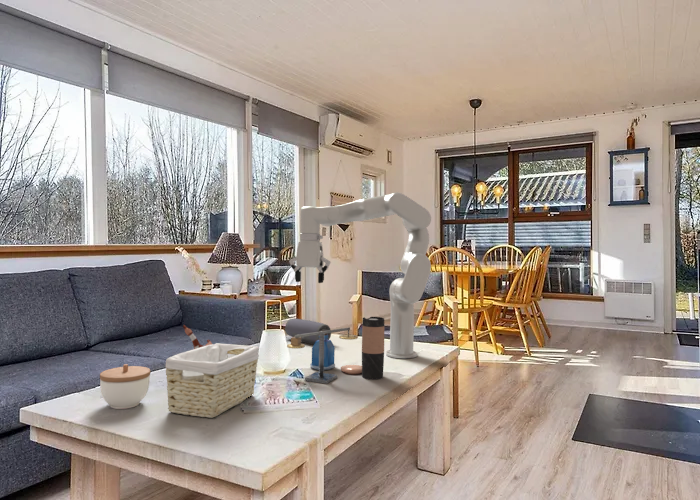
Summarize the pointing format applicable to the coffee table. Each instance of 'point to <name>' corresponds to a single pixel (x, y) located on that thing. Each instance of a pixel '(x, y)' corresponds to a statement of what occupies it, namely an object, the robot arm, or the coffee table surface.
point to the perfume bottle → (328, 352)
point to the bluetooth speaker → (305, 329)
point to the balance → (320, 353)
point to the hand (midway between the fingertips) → (309, 282)
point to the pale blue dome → (324, 367)
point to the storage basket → (210, 379)
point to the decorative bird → (194, 338)
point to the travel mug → (372, 348)
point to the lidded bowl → (124, 385)
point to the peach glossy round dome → (352, 369)
